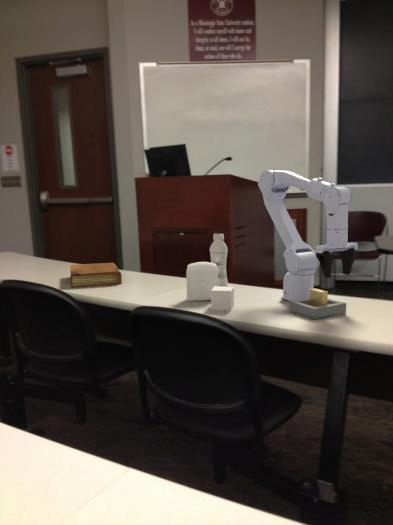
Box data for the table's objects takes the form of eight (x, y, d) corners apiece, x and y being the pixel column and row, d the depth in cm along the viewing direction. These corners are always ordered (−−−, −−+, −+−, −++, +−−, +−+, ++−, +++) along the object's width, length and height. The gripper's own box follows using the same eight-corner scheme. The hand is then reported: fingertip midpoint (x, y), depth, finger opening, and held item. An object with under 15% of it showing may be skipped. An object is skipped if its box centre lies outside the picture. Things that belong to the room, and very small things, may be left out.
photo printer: (187, 301, 141) (186, 263, 139) (186, 298, 145) (185, 261, 143) (219, 300, 142) (219, 262, 140) (217, 297, 146) (217, 260, 144)
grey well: (289, 311, 128) (289, 301, 127) (319, 305, 134) (320, 296, 133) (314, 319, 119) (315, 309, 119) (345, 313, 125) (346, 303, 124)
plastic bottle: (206, 291, 155) (205, 234, 152) (214, 287, 161) (214, 233, 158) (223, 293, 152) (222, 235, 149) (230, 289, 158) (230, 233, 155)
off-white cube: (211, 310, 131) (210, 290, 130) (214, 305, 136) (214, 286, 135) (231, 311, 129) (231, 291, 128) (233, 306, 135) (233, 286, 134)
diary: (121, 286, 169) (121, 271, 168) (71, 289, 164) (70, 274, 163) (115, 275, 191) (115, 262, 190) (70, 277, 186) (70, 264, 185)
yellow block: (319, 313, 123) (320, 292, 122) (307, 309, 127) (307, 289, 126) (328, 312, 125) (329, 291, 124) (316, 308, 129) (316, 288, 128)
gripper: (328, 230, 120) (328, 280, 121) (366, 228, 126) (365, 275, 128) (310, 230, 126) (310, 277, 128) (347, 227, 133) (346, 272, 134)
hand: (336, 275), depth 128 cm, fingers open, 7 cm apart
